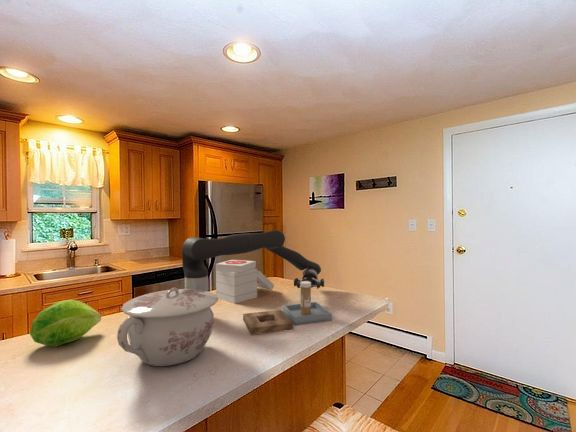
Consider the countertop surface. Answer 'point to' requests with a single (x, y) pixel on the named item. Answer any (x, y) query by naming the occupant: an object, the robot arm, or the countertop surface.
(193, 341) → the chamber pot
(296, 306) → the parts tray
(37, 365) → the countertop surface
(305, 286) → the spice jar
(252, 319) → the socket board
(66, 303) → the green papaya
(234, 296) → the pizza boxes
